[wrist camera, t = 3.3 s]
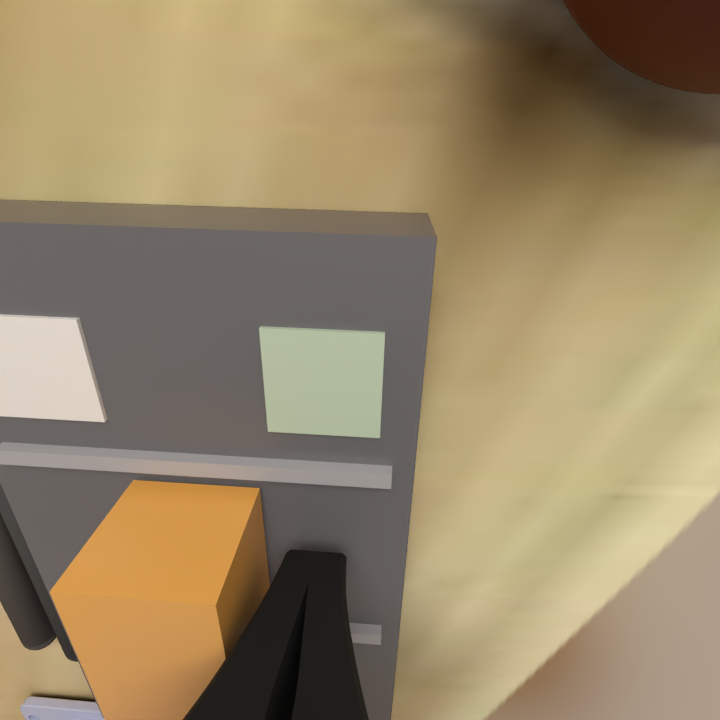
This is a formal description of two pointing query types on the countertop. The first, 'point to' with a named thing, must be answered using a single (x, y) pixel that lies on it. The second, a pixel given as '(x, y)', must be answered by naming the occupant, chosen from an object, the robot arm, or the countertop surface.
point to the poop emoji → (657, 38)
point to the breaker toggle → (164, 594)
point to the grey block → (221, 380)
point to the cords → (26, 589)
